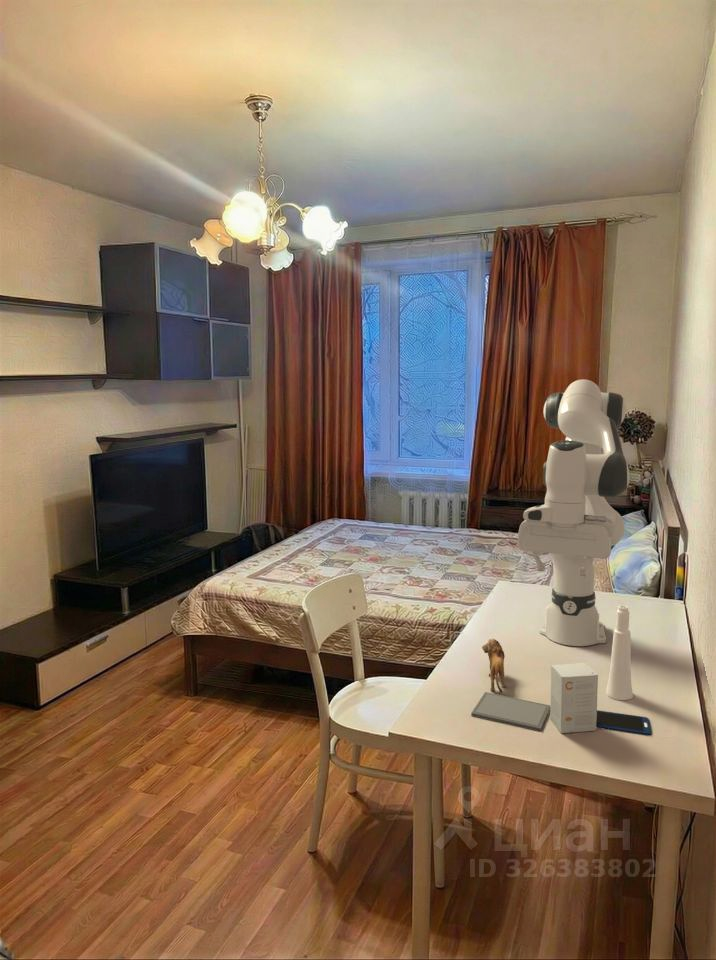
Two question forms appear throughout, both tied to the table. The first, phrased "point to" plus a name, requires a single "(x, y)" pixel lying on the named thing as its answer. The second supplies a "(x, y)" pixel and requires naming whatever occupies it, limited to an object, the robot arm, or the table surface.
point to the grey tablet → (512, 711)
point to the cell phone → (623, 722)
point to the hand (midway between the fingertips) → (562, 573)
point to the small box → (573, 697)
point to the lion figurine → (495, 662)
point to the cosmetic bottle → (621, 659)
